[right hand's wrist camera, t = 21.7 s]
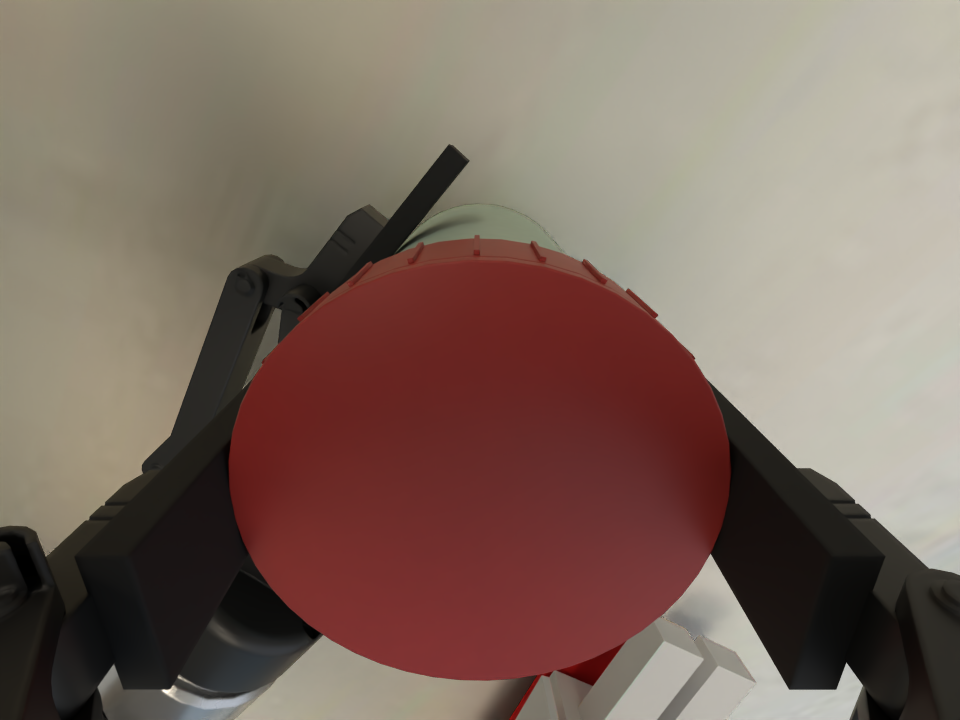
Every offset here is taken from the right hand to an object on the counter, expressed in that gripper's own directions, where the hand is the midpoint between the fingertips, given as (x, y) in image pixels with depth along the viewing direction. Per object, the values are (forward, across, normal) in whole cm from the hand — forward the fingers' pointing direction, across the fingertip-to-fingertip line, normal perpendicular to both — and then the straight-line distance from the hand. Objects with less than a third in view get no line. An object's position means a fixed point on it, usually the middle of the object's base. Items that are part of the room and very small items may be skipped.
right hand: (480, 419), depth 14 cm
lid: (-3, 0, 0) cm, 3 cm away
